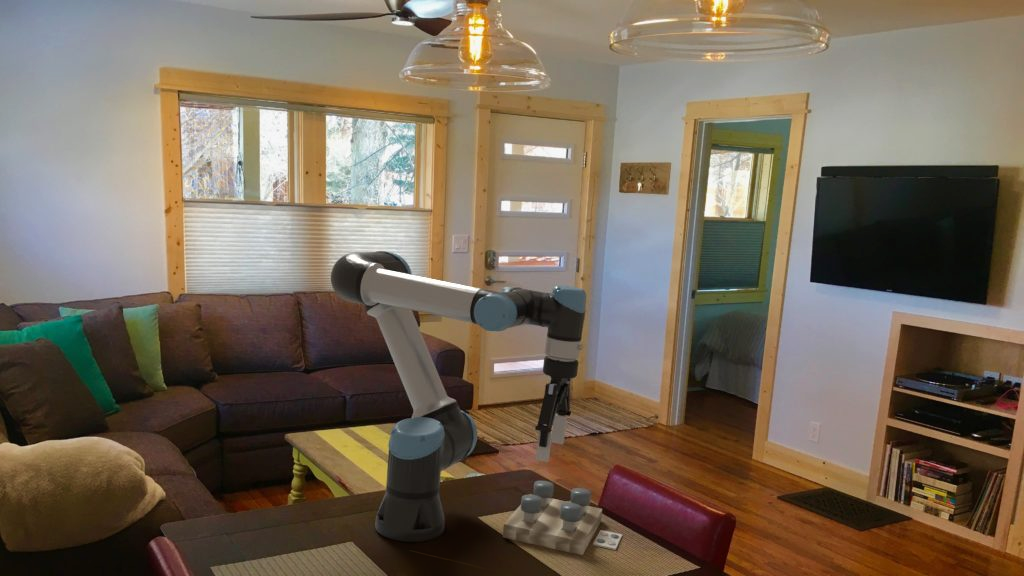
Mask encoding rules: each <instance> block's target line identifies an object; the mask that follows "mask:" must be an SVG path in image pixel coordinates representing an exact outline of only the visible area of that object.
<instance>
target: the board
mask: <svg viewBox="0 0 1024 576" xmlns="http://www.w3.org/2000/svg"><path fill="white" fill-rule="evenodd" d="M528 495H534V494H531V493H529V494H528ZM563 503H571V502H570V501H565V500H561V499H557V498H556V499H555V498H553V497H551V498H549V501H548V507H547V508H543V507H542V508H541V512H539V513H537V520H536V523H535V524H532V523H528V522H523V518H524V511H522V510H521V504H520V505H519V506H518V507H517V508H516V509H515V511H514V512H513V513H512V514H511V515H509V517H508V518H507V520H506V521H505V522H504V523H503V529H502V538H504V539H509V540H513V541H518V542H523V543H526V544H531V545H536V546H540V547H544V548H549V549H552V550H557V551H562V552H566V553H571V554H575V555H580V556H584V554H585V553H586V550H587V549H588V546H589V544H590V543H591V541H592V539H593V537H594V535H595V533H596V531H597V529H598V527H599V526H600V524H601V522H602V518H603V517H602V516H603V508H601V507H594V506H590V505H588V506H586V510H585V515H584V516H581V519H580V521H578V522H576V529H575V532H569V531H564V530H562V529H563V520H562V519H561V518H560V508H561V504H563Z"/></svg>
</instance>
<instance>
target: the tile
mask: <svg viewBox="0 0 1024 576" xmlns="http://www.w3.org/2000/svg"><path fill="white" fill-rule="evenodd" d="M622 537H623V534H621V533H618V532H612V531H608V530H603V529H600V530H599V532H598V534H597V535H596V538H595V539H594V541H593V544H592V546H595V547H600V548H604V549H608V550H613V551H616V550H617V549H618V546H619V544H620V542H621V540H622Z"/></svg>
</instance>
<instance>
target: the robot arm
mask: <svg viewBox="0 0 1024 576" xmlns="http://www.w3.org/2000/svg"><path fill="white" fill-rule="evenodd" d="M330 283H331V287H332V289H333V291H334V292H335V294H336V295H337V296H338V297H339V298H340V299H342V300H343V301H345V302H349V303H355V304H360V305H363V307H364V309H365V311H366V313H367V316H371V317H373V318H375V320H376V321H377V324H378V326H379V330H380V332H381V334H382V336H383V338H384V341H385V344H386V346H387V348H388V351H389V353H390V356H391V359H392V360H393V363H394V366H395V368H396V370H397V374H398V375H399V377H400V378H399V379H400V380H401V383H402V384H403V387H404V390H405V392H406V395H407V398H408V400H409V402H410V405H411V407H412V409H413V413H412V415H411V417H410V418H405V419H404V418H403V419H402V420H400V421H398V422H396V423H395V424H394V425H393V427H392V428H391V431H390V434H389V435H390V436H389V440H388V445H387V447H388V453H387V468H386V469H387V471H386V483H385V487H386V488H385V493H384V496H383V498H382V500H381V503H380V505H379V508H378V510H377V513H376V516H375V525H374V529H375V531H377V533H378V534H380V535H381V536H383V537H385V538H388V539H390V540H392V541H398V542H408V543H416V542H424V541H425V542H426V541H429V540H433V539H435V538H437V537H439V536H441V535H442V534H443V532H444V531H445V524H446V523H445V522H446V521H445V518H446V517H445V514H444V510H443V506H442V503H441V499H440V485H441V474H442V473H441V472H443V471H445V470H447V469H449V468H450V467H452V466H453V465H455V464H457V463H461V462H463V460H465V459H466V458H467V457H469V455H470V454H471V453H472V452H473V451H474V449H475V447H476V444H477V440H478V428H477V426H476V423H475V421H474V419H473V418H472V416H471V415H470V414H468V413H466V412H465V411H463V410H461V409H460V406H459V404H458V402H457V400H456V399H455V398H452V397H449V396H448V394H447V391H446V390H445V387H444V384H443V383H442V379H441V378H440V375H439V372H438V370H437V368H436V365H435V363H434V361H433V359H432V355H431V353H430V351H429V348H428V346H427V344H426V341H425V339H424V336H423V334H422V332H421V329H420V326H419V325H418V321H417V320H416V318H415V315H414V312H413V311H415V312H420V313H423V314H428V315H433V316H438V317H443V318H447V319H451V320H455V321H460V322H465V323H469V324H475V325H478V326H479V327H480V328H482V329H483V330H485V331H487V332H502V331H505V330H507V329H511V328H513V327H518V326H522V325H531V326H536V327H537V326H538V327H541V328H547V334H546V341H545V349H544V354H545V357H544V359H543V365H542V366H543V367H542V372H543V374H544V375H545V376H549V377H550V381H549V382H548V383H546V384H545V386H544V387H545V389H544V395H543V400H542V402H541V403H542V404H541V408H540V413H539V417H538V420H537V421H538V422H537V425H535V427H534V430H535V431H538V434H537V445H536V452H535V460H536V461H540V462H544V463H549V460H550V453H551V452H550V451H551V445H552V444H557V445H564V443H565V434H566V427H567V418H568V417H570V416H571V414H572V411H571V380H572V379H575V378H576V377H577V376H578V370H579V369H578V368H579V363H580V362H579V361H578V359H579V358H580V352H581V351H582V350H583V349H584V346H583V345H582V344H581V342H582V339H583V331H584V329H583V328H584V322H585V316H586V312H587V310H586V307H587V306H586V304H587V292H586V291H585V289H583V288H579V287H575V286H568V285H555V286H554V287H553V288H552V291H551V292H543V291H537V290H531V289H526V288H522V287H512V286H506V287H503V288H502V289H501V290H500V291H494V290H490V289H483V288H479V287H475V286H469V285H466V284H465V285H464V284H461V283H460V284H459V283H455V282H450V281H446V280H445V281H444V280H440V279H434V278H431V277H430V278H429V277H425V276H420V275H415V274H412V270H411V267H410V265H409V264H408V262H407V261H406V260H405V259H404V258H403V257H402V256H400V255H398V254H397V253H394V252H389V251H384V250H383V251H382V250H379V251H371V252H370V251H369V252H368V251H367V252H366V251H365V252H358V251H357V252H350V253H347V254H345V255H343V256H341V257H340V258H339V259H337V261H336V262H335V263H334V265H333V267H332V269H331V273H330ZM580 350H581V351H580Z"/></svg>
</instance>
